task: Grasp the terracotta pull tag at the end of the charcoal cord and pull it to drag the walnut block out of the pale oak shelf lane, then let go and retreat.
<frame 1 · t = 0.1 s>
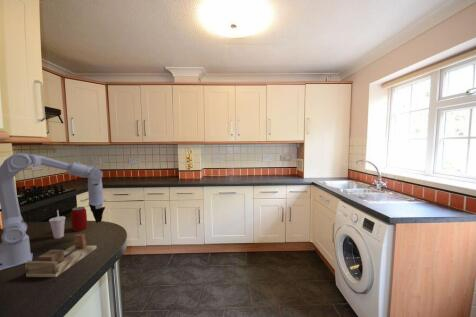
hand: (97, 219, 101), 10 cm above the countertop, tool pointing down, fingers open, 7 cm apart
lane shelf: (65, 260, 83), on the countertop
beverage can: (80, 229, 114), on the countertop
smoothie: (59, 237, 105), on the countertop
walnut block: (65, 250, 83), point 4 cm above the countertop, slide at 0.0 cm
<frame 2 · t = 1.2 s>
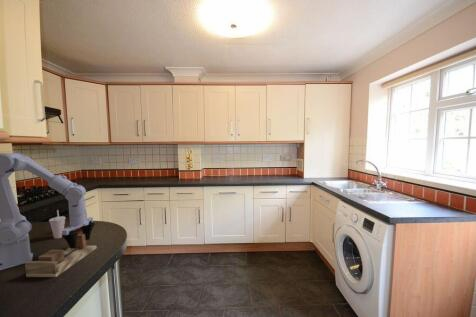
hand: (80, 243, 91), 3 cm above the countertop, tool pointing down, fingers open, 7 cm apart
nothing on the countertop moved.
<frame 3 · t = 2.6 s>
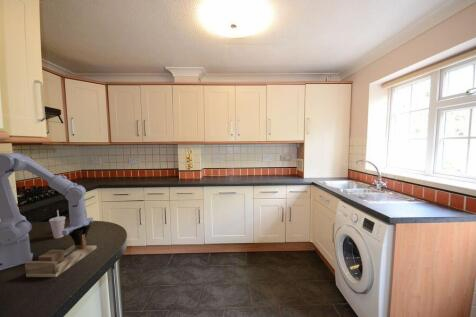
hand: (80, 243, 91), 3 cm above the countertop, tool pointing down, fingers closed on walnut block, 2 cm apart
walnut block: (65, 250, 83), point 4 cm above the countertop, slide at 0.0 cm, touching gripper
everything else where it was.
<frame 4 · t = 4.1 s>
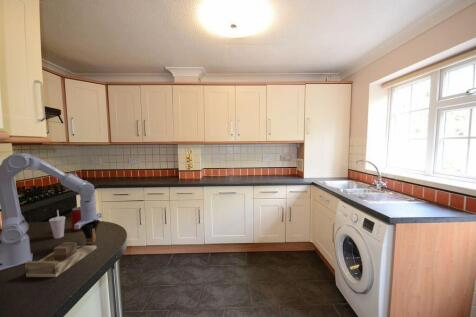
hand: (90, 237, 97), 3 cm above the countertop, tool pointing down, fingers closed on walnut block, 2 cm apart
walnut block: (77, 242, 89), point 4 cm above the countertop, slide at 6.0 cm, touching gripper
everything else where it was.
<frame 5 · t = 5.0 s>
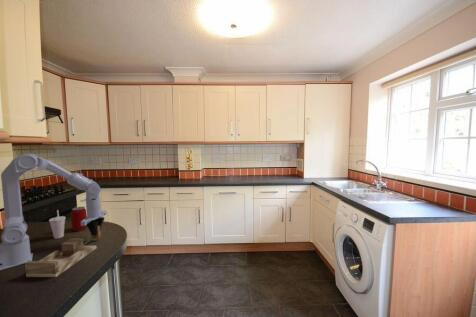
hand: (95, 234, 100), 3 cm above the countertop, tool pointing down, fingers closed on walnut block, 2 cm apart
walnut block: (83, 239, 93), point 4 cm above the countertop, slide at 9.4 cm, touching gripper
everything else where it was.
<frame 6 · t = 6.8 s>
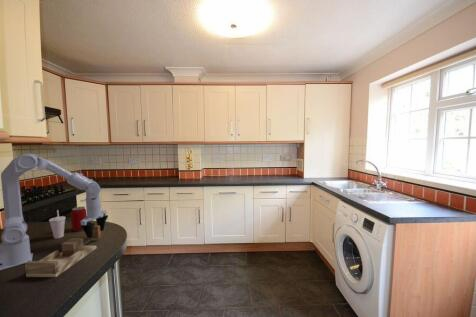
hand: (95, 233, 100), 3 cm above the countertop, tool pointing down, fingers open, 7 cm apart
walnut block: (83, 239, 93), point 4 cm above the countertop, slide at 9.5 cm
everything else where it was.
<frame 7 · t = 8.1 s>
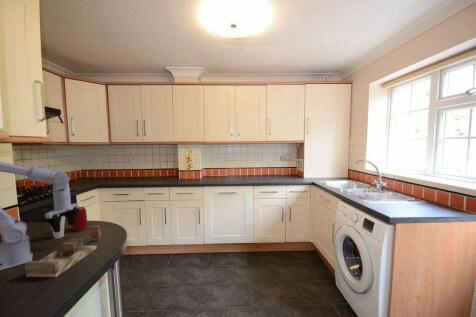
hand: (64, 228, 93), 9 cm above the countertop, tool pointing down, fingers open, 7 cm apart
nothing on the countertop moved.
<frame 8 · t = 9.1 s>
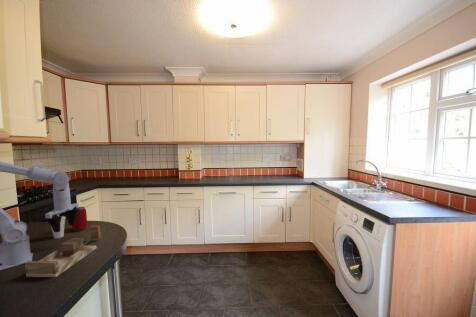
hand: (64, 228, 93), 9 cm above the countertop, tool pointing down, fingers open, 7 cm apart
nothing on the countertop moved.
at the end: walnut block slide at 9.5 cm; the gripper is holding nothing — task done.
